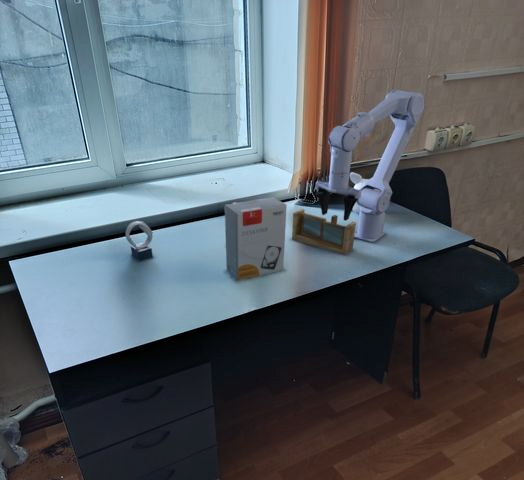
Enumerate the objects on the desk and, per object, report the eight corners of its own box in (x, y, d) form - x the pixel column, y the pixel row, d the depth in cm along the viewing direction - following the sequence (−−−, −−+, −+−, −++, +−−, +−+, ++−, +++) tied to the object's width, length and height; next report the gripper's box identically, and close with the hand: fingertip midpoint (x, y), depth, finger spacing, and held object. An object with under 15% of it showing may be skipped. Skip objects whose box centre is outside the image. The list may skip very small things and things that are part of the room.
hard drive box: (236, 282, 136) (234, 213, 124) (225, 271, 141) (222, 204, 130) (284, 270, 142) (287, 204, 130) (272, 260, 147) (273, 195, 136)
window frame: (300, 234, 163) (301, 208, 158) (352, 249, 154) (356, 222, 149) (291, 239, 160) (293, 213, 155) (345, 255, 151) (348, 227, 145)
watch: (158, 255, 150) (154, 221, 143) (134, 262, 146) (128, 228, 139) (150, 249, 153) (145, 216, 147) (126, 256, 149) (120, 222, 143)
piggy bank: (375, 207, 184) (380, 167, 176) (382, 219, 175) (389, 177, 166) (343, 208, 184) (347, 167, 175) (349, 219, 174) (353, 177, 166)
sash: (321, 240, 156) (323, 212, 151) (345, 246, 152) (348, 218, 147) (318, 241, 155) (320, 213, 149) (342, 248, 151) (345, 220, 145)
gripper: (311, 170, 141) (308, 215, 149) (355, 179, 134) (349, 226, 142) (323, 164, 146) (320, 208, 154) (367, 173, 139) (360, 219, 147)
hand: (335, 216), depth 149 cm, fingers open, 7 cm apart
